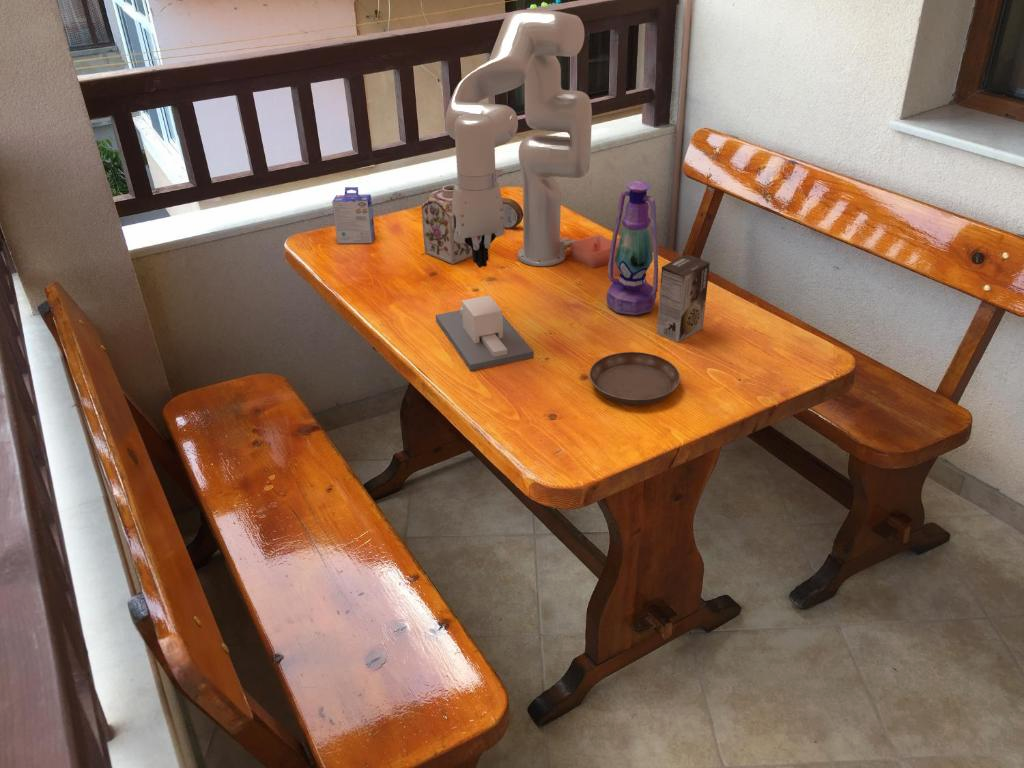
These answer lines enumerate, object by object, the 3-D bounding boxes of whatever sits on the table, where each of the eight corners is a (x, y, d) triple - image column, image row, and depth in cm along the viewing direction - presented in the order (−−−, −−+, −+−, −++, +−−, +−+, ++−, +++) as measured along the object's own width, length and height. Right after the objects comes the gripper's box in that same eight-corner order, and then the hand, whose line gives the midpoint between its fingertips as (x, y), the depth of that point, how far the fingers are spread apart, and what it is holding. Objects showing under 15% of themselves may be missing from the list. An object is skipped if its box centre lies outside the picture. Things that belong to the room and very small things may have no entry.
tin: (523, 228, 242) (523, 199, 237) (519, 232, 240) (518, 203, 235) (475, 220, 247) (474, 192, 243) (470, 224, 245) (469, 196, 240)
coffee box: (679, 319, 194) (686, 253, 185) (703, 328, 190) (711, 261, 182) (654, 333, 189) (660, 265, 180) (679, 343, 185) (685, 274, 176)
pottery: (570, 257, 225) (570, 222, 219) (598, 249, 229) (599, 214, 224) (614, 281, 212) (616, 244, 207) (643, 272, 216) (645, 235, 211)
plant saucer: (616, 420, 161) (616, 406, 159) (573, 375, 175) (574, 362, 173) (696, 399, 167) (697, 385, 165) (649, 357, 181) (650, 344, 179)
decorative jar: (486, 252, 228) (483, 186, 218) (453, 265, 221) (449, 198, 211) (455, 240, 235) (452, 176, 225) (423, 253, 228) (418, 187, 219)
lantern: (593, 306, 200) (597, 180, 184) (622, 289, 207) (630, 167, 191) (639, 323, 193) (648, 194, 177) (668, 305, 200) (680, 180, 184)
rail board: (493, 309, 200) (493, 299, 198) (533, 357, 181) (533, 346, 179) (435, 320, 195) (435, 310, 194) (470, 371, 176) (470, 359, 175)
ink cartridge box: (376, 236, 239) (370, 185, 231) (373, 243, 234) (367, 192, 226) (340, 236, 239) (334, 185, 231) (337, 244, 234) (330, 193, 226)
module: (490, 321, 191) (489, 295, 188) (503, 337, 185) (502, 310, 182) (463, 326, 189) (461, 300, 186) (475, 343, 183) (473, 316, 180)
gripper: (505, 168, 174) (507, 251, 184) (434, 179, 170) (441, 263, 180) (519, 179, 168) (520, 265, 178) (446, 191, 164) (452, 278, 174)
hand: (480, 264), depth 179 cm, fingers closed
